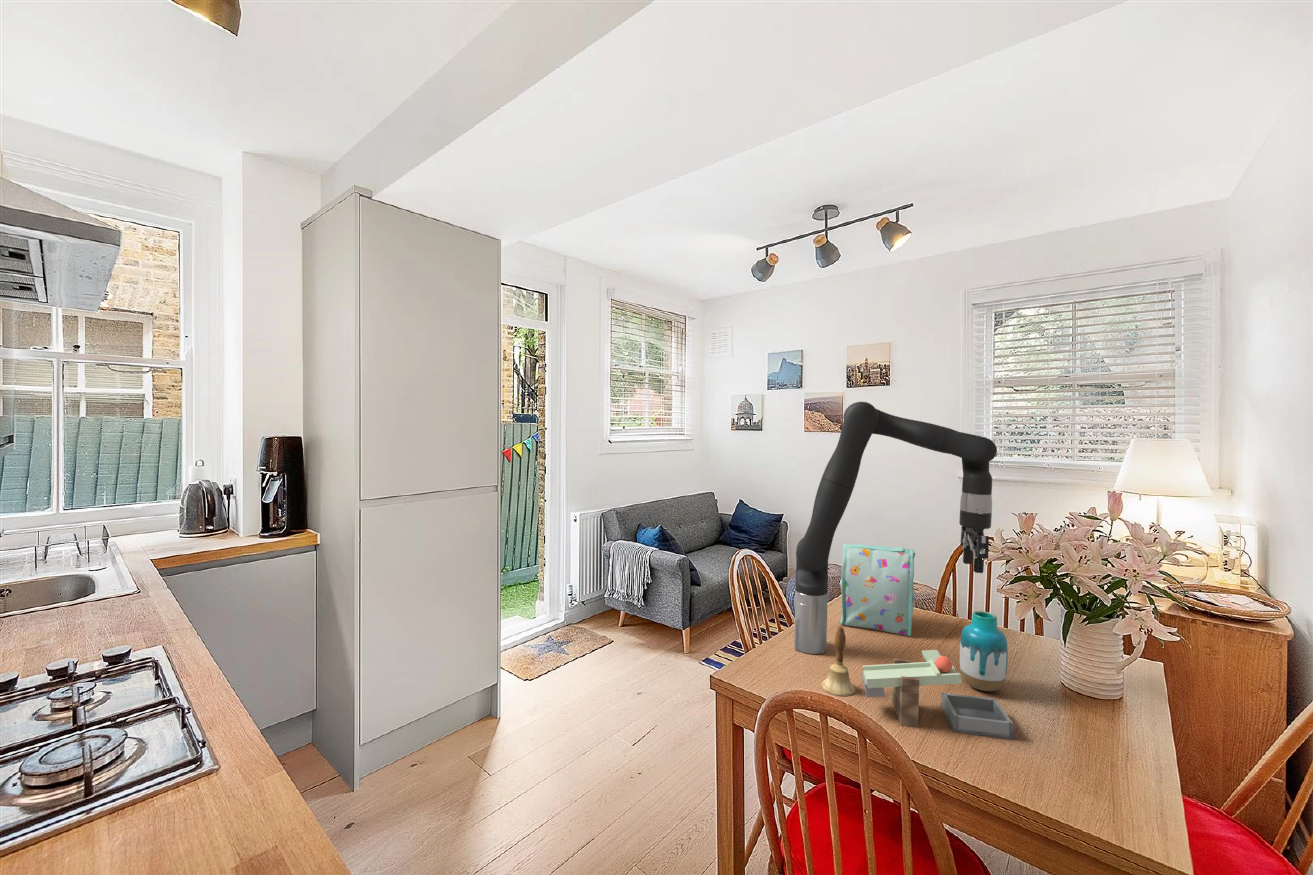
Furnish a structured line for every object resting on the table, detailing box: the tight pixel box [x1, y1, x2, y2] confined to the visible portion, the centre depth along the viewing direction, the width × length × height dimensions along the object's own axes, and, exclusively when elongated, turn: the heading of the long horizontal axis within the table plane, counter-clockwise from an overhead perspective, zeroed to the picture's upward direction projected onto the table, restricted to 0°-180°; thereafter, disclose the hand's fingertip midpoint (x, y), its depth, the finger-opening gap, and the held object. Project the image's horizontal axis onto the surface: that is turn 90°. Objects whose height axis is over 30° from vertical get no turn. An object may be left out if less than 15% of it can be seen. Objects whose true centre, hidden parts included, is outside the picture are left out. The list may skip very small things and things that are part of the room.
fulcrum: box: [891, 658, 920, 728], centre depth 129 cm, size 4×10×11 cm, turn 167°
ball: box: [935, 655, 954, 672], centre depth 127 cm, size 4×4×4 cm
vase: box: [959, 610, 1009, 692], centre depth 141 cm, size 11×11×19 cm
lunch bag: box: [839, 543, 916, 637], centre depth 183 cm, size 23×16×27 cm
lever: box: [861, 649, 963, 698], centre depth 133 cm, size 20×16×5 cm
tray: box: [940, 692, 1015, 740], centre depth 126 cm, size 12×11×4 cm
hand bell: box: [821, 626, 856, 697], centre depth 141 cm, size 8×8×16 cm
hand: (972, 567), depth 151 cm, fingers open, 8 cm apart
